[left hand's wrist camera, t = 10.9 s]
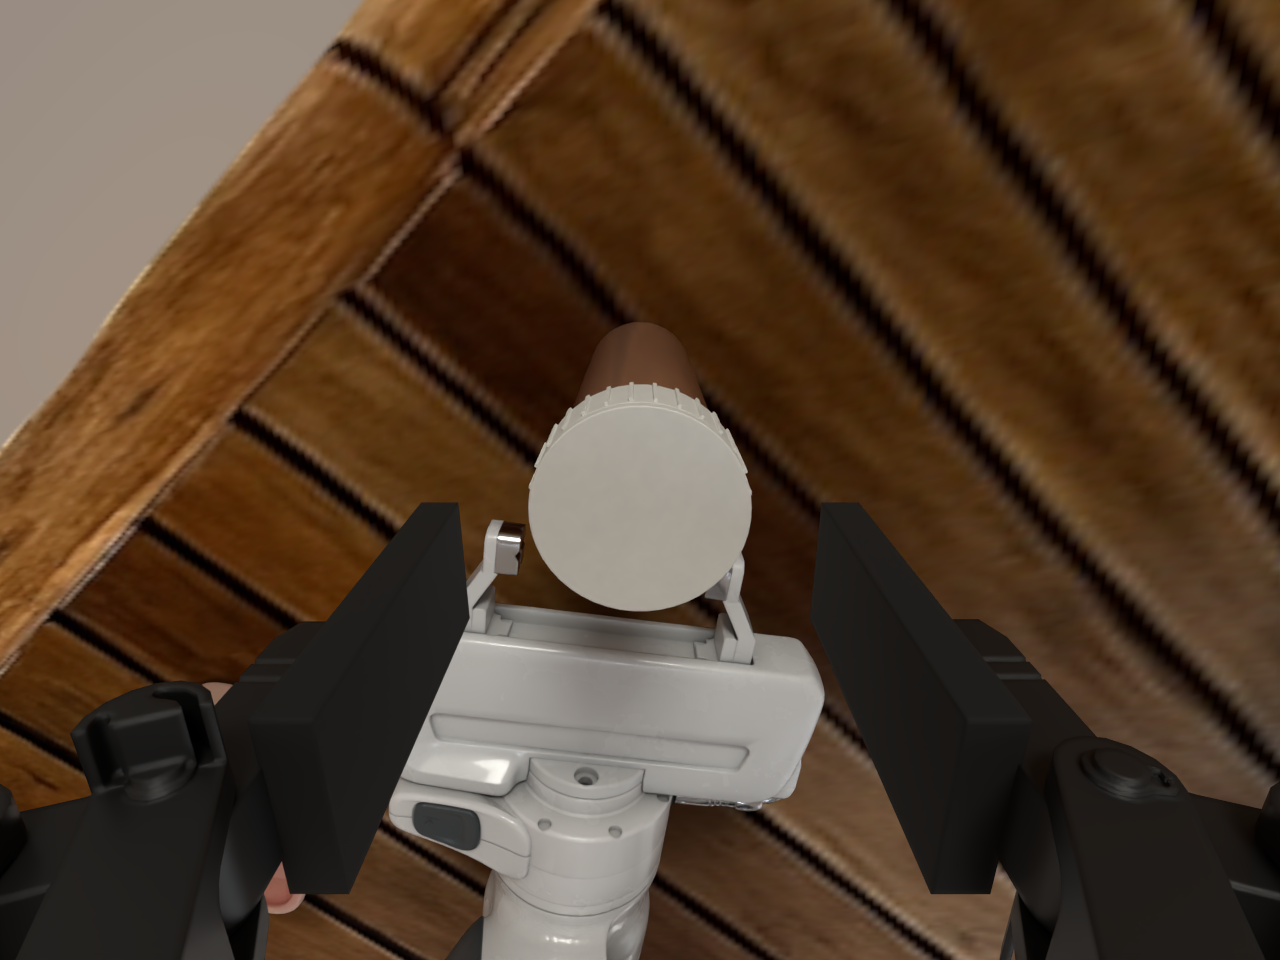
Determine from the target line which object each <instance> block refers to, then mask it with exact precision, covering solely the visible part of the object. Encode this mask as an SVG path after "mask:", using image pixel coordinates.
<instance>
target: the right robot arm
mask: <svg viewBox="0 0 1280 960" xmlns="http://www.w3.org/2000/svg"><path fill="white" fill-rule="evenodd" d="M525 534H526V524H521V523H514V522H507V521H501V520H492V521H491V523H490V525H489V527H488V529H487V532H486V537H485V542H484V558H483V560H482V562H481V563H480V564H479V565H478V567H477V568H476V569H475V570H474V572H473V573H472V574H471V576H470V577H469V578H468V579H467V581H466V585H467V595H468V604H469V614H470V619H469V621H468V623H467V626H466V628H465V630H464V633H463V635H462V637H461V639H460V642H459V644H458V646H457V649H456V651H455V653H454V655H453V658H452V660H451V662H450V665H449V667H448V669H447V671H446V674H445V676H444V678H443V681H442V683H441V685H440V687H439V690H438V692H437V694H436V697H435V699H434V701H433V703H432V706H431V708H430V710H429V712H428V715H427V717H426V719H425V722H424V724H423V726H422V728H421V731H420V733H419V735H418V738H417V740H416V742H415V744H414V747H413V749H412V751H411V754H410V756H409V758H408V760H407V763H406V765H405V767H404V770H403V772H402V774H401V776H400V779H399V781H398V783H397V786H396V788H395V790H394V792H393V795H392V797H391V799H390V803H389V817H390V820H391V822H392V823H393V824H394V825H395V826H396V827H397V828H399V829H401V830H403V831H405V832H407V833H410V834H413V835H416V836H419V837H422V838H424V839H427V840H430V841H433V842H435V843H438V844H441V845H443V846H446V847H448V848H451V849H453V850H456V851H458V852H460V853H463V854H465V855H467V856H469V857H471V858H473V859H475V860H477V861H479V862H481V863H483V864H485V865H486V866H488V867H490V868H492V871H491V873H490V876H489V879H488V882H487V885H486V889H485V896H484V904H483V915H482V916H481V917H480V918H479V919H478V920H477V921H476V922H475V923H473V924H472V925H471V927H470V928H469V929H468V930H467V931H466V932H465V933H464V935H463V936H462V937H461V939H460V940H459V941H458V943H457V944H456V946H455V947H454V948H453V950H452V951H451V952H450V954H449V955H448V956H447V958H446V959H445V960H639V957H640V953H641V949H642V945H643V941H644V937H645V932H646V928H647V923H648V917H649V905H650V902H649V890H648V889H649V887H650V885H651V883H652V881H653V879H654V877H655V875H656V872H657V869H658V866H659V862H660V857H661V852H662V847H663V842H664V837H665V832H666V827H667V822H668V817H669V810H670V805H672V804H673V803H674V804H677V803H678V804H684V805H693V806H726V807H734V809H736V810H741V811H756V810H760V809H761V807H762V804H769V803H773V802H776V801H778V800H781V799H782V798H788V797H789V796H790V795H791V794H792V793H793V791H794V789H795V787H796V783H797V780H798V776H799V773H800V769H801V764H802V756H803V754H804V752H805V750H806V748H807V745H808V743H809V741H810V739H811V736H812V734H813V732H814V729H815V727H816V724H817V721H818V719H819V716H820V713H821V710H822V707H823V703H824V688H823V684H822V680H821V677H820V674H819V671H818V669H817V667H816V665H815V663H814V661H813V659H812V657H811V656H810V654H809V653H808V651H807V650H806V648H805V647H804V645H803V644H802V643H801V642H800V641H799V640H798V639H795V638H790V637H783V636H774V635H765V634H757V633H753V630H752V626H751V623H750V619H749V616H748V613H747V611H746V608H745V606H744V603H743V601H742V598H741V596H740V589H741V584H742V580H743V575H744V559H743V556H742V553H740V555H739V557H738V558H737V560H736V561H735V563H734V564H733V566H732V567H731V569H730V570H729V571H728V572H727V573H726V574H725V575H724V576H723V578H722V579H721V580H720V581H718V582H717V583H716V584H715V585H714V586H713V587H711V588H710V589H709V590H707V591H706V592H704V597H705V598H709V599H716V600H723V603H724V606H725V608H726V610H727V613H720V614H719V616H718V620H717V625H716V629H714V628H706V627H697V626H689V625H680V624H672V623H664V622H655V621H647V620H638V619H630V618H621V617H613V616H604V615H596V614H587V613H579V612H570V611H562V610H553V609H545V608H536V607H528V606H519V605H511V604H502V603H495V590H496V588H495V587H494V586H493V585H490V584H491V582H492V581H493V580H494V578H495V577H496V576H497V575H498V574H509V575H517V574H518V571H519V568H520V564H521V563H522V560H523V557H524V547H525V543H524V541H523V540H524V537H525Z"/></svg>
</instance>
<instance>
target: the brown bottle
mask: <svg viewBox="0 0 1280 960" xmlns="http://www.w3.org/2000/svg"><path fill="white" fill-rule="evenodd" d="M630 382H634V384H647V385H652V384H653V383H657V386H661V387H665V388H669V389H673V390H675V388H677V389H679V391H680V393H683V394H685V395H687V396H689V397H691V398H692V399H694V400H695V398H698V399H699V400H700V403H701V405H703V406H704V407H705V408H707V406H706V403H705V400H704V398H703V395H702V392H701V390H700V387H699V384H698V382H697V379H696V376H695V374H694V371H693V369H692V366H691V363H690V361H689V358H688V355H687V353H686V350H685V349H684V347H683V345H682V344H681V342H680V341H679V340H678V339H677V338H676V337H675V336H674V335H673V334H672V333H671V332H669V331H668V330H666V329H664V328H663V327H660V326H658V325H655V324H651V323H645V322H634V323H628V324H625V325H622V326H620V327H617V328H615V329H614V330H612V331H611V332H609V333H608V334H607V335H606V336H605V337H604V338H603V339H602V340H601V341H600V342H599V344H598V345H597V347H596V349H595V350H594V353H593V355H592V358H591V361H590V363H589V366H588V369H587V371H586V374H585V376H584V379H583V382H582V384H581V387H580V390H579V392H578V395H577V398H576V400H575V403H574V406H573V408H575V407H576V406H577V405H579V404H580V403H581V402H582V401H584V400H585V398H586V396H587V395H590V397H591V396H593V395H595V394H597V393H600V392H602V391H605V390H606V389H607V387H609V386H611V388H615V387H618V386H625V385H629V383H630ZM573 408H572V409H573ZM707 409H708V408H707Z"/></svg>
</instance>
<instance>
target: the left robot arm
mask: <svg viewBox="0 0 1280 960" xmlns="http://www.w3.org/2000/svg"><path fill="white" fill-rule="evenodd" d="M469 619H470V614H469V604H468V595H467V585H466V575H465V565H464V555H463V545H462V535H461V525H460V515H459V505H458V503H421V504H420V505H419V506H418V507H417V509H416V510H415V511H414V512H413V514H412V515H411V516H410V517H409V519H408V520H407V521H406V522H405V524H404V525H403V526H402V527H401V529H400V530H399V531H398V532H397V534H396V535H395V536H394V537H393V539H392V540H391V541H390V542H389V544H388V545H387V546H386V547H385V549H384V550H383V551H382V552H381V554H380V555H379V556H378V557H377V559H376V560H375V561H374V562H373V564H372V565H371V566H370V567H369V569H368V570H367V571H366V572H365V574H364V575H363V576H362V577H361V579H360V580H359V581H358V582H357V584H356V585H355V586H354V587H353V589H352V590H351V591H350V592H349V594H348V595H347V596H346V597H345V599H344V600H343V601H342V602H341V604H340V605H339V606H338V607H337V609H336V610H335V611H334V612H333V614H332V615H331V616H330V617H329V619H328V620H327V621H326V622H300V623H299V624H297V625H296V626H294V627H292V628H291V629H289V630H288V631H286V632H285V633H283V634H281V635H280V636H278V637H277V638H275V639H273V641H272V642H271V643H270V644H269V645H268V646H267V647H266V648H265V650H264V651H263V652H262V653H261V654H260V655H259V656H258V657H257V658H256V660H255V664H251V665H250V666H249V667H248V669H247V670H246V671H245V672H244V673H243V674H242V675H241V676H240V680H239V682H235V683H234V684H233V685H232V686H231V688H230V689H229V690H228V691H227V692H226V693H225V694H224V695H223V696H222V698H221V699H220V700H219V701H218V702H217V703H216V704H215V705H214V702H213V699H212V695H211V691H210V690H208V689H207V688H205V687H204V686H203V685H201V684H200V683H194V682H187V681H173V682H164V683H157V684H153V685H150V686H146V687H143V688H139V689H136V690H132V691H130V692H127V693H125V694H123V695H121V696H119V697H117V698H114V699H112V700H110V701H108V702H106V703H104V704H103V705H101V706H100V707H98V708H97V709H95V710H94V711H93V712H91V713H90V714H88V715H87V716H85V717H84V718H83V719H82V720H81V721H80V723H79V724H78V725H77V726H76V727H75V728H74V730H73V731H72V732H71V733H70V735H71V737H72V740H73V743H74V746H75V748H76V751H77V754H78V757H79V759H80V762H81V765H82V768H83V771H84V773H85V776H86V779H87V782H88V784H89V787H90V790H91V793H92V794H91V796H88V797H85V798H80V799H76V800H71V801H67V802H62V803H58V804H53V805H49V806H45V807H40V808H36V809H31V810H27V811H22V812H19V810H18V807H17V805H16V803H15V800H14V798H13V795H12V793H11V791H10V790H9V789H7V788H6V787H4V786H3V785H1V784H0V960H265V953H266V945H267V936H268V928H269V914H268V907H267V902H266V898H265V895H264V892H265V890H266V888H267V886H268V885H269V883H270V881H271V879H272V878H273V876H274V874H275V872H276V871H277V869H278V867H279V865H280V864H281V862H282V864H283V868H284V873H285V877H286V881H287V885H288V889H289V893H290V894H349V893H350V891H351V888H352V886H353V884H354V882H355V879H356V877H357V875H358V872H359V870H360V868H361V866H362V863H363V861H364V859H365V856H366V854H367V852H368V850H369V847H370V845H371V843H372V840H373V838H374V836H375V834H376V831H377V829H378V827H379V824H380V822H381V820H382V818H383V815H384V813H385V811H386V808H387V806H388V804H389V802H390V799H391V797H392V795H393V792H394V790H395V788H396V786H397V783H398V781H399V779H400V776H401V774H402V772H403V770H404V767H405V765H406V763H407V760H408V758H409V756H410V754H411V751H412V749H413V747H414V744H415V742H416V740H417V738H418V735H419V733H420V731H421V728H422V726H423V724H424V722H425V719H426V717H427V715H428V712H429V710H430V708H431V706H432V703H433V701H434V699H435V697H436V694H437V692H438V690H439V687H440V685H441V683H442V681H443V678H444V676H445V674H446V671H447V669H448V667H449V665H450V662H451V660H452V658H453V655H454V653H455V651H456V649H457V646H458V644H459V642H460V639H461V637H462V635H463V633H464V630H465V628H466V626H467V623H468V621H469ZM810 619H811V621H812V623H813V626H814V628H815V630H816V633H817V635H818V637H819V639H820V642H821V644H822V646H823V649H824V651H825V653H826V655H827V658H828V660H829V662H830V665H831V667H832V669H833V671H834V674H835V676H836V678H837V681H838V683H839V685H840V687H841V690H842V692H843V694H844V697H845V699H846V701H847V703H848V706H849V708H850V710H851V712H852V715H853V717H854V719H855V722H856V724H857V726H858V728H859V731H860V733H861V735H862V738H863V740H864V742H865V744H866V747H867V749H868V751H869V754H870V756H871V758H872V760H873V763H874V765H875V767H876V770H877V772H878V774H879V776H880V779H881V781H882V783H883V786H884V788H885V790H886V792H887V795H888V797H889V799H890V802H891V804H892V806H893V808H894V811H895V813H896V815H897V818H898V820H899V822H900V824H901V827H902V829H903V831H904V834H905V836H906V838H907V840H908V843H909V845H910V847H911V850H912V852H913V854H914V856H915V859H916V861H917V863H918V866H919V868H920V870H921V872H922V875H923V877H924V879H925V882H926V884H927V886H928V888H929V891H930V893H931V894H990V893H991V889H992V885H993V881H994V877H995V873H996V868H997V864H998V860H1000V862H1001V864H1002V865H1003V867H1004V869H1005V871H1006V872H1007V874H1008V876H1009V878H1010V879H1011V881H1012V883H1013V885H1014V886H1015V888H1016V890H1017V891H1016V895H1015V898H1014V902H1013V906H1012V910H1011V913H1010V917H1009V921H1008V925H1007V928H1006V932H1005V936H1004V940H1003V944H1002V948H1001V954H1000V960H1011V958H1012V954H1013V950H1014V951H1015V960H1280V782H1279V783H1277V784H1275V785H1274V786H1272V787H1271V788H1270V791H1269V793H1268V795H1267V798H1266V800H1265V803H1264V805H1263V807H1262V809H1258V808H1254V807H1249V806H1245V805H1240V804H1236V803H1231V802H1227V801H1222V800H1218V799H1213V798H1209V797H1204V796H1200V795H1196V794H1192V793H1189V792H1188V791H1187V790H1186V788H1185V787H1184V786H1183V784H1182V783H1181V782H1180V780H1179V779H1178V778H1177V776H1176V775H1175V774H1174V773H1172V772H1171V771H1170V770H1169V769H1167V768H1166V767H1165V766H1164V765H1162V764H1161V763H1160V762H1158V761H1157V760H1156V759H1154V758H1152V757H1150V756H1148V755H1147V754H1145V753H1143V752H1141V751H1139V750H1137V749H1135V748H1133V747H1131V746H1128V745H1125V744H1122V743H1119V742H1116V741H1113V740H1110V739H1107V738H1100V737H1096V736H1095V734H1094V733H1093V732H1092V731H1091V730H1090V729H1089V728H1088V727H1087V726H1086V724H1085V723H1084V722H1083V721H1082V720H1081V719H1080V718H1079V717H1078V716H1077V714H1076V713H1075V712H1074V711H1073V710H1072V709H1071V708H1070V707H1069V706H1068V704H1067V703H1066V702H1065V701H1064V700H1063V699H1062V698H1061V697H1060V696H1059V694H1058V693H1057V692H1056V691H1055V690H1054V689H1053V688H1052V687H1051V686H1050V684H1049V683H1048V682H1047V681H1046V680H1042V679H1041V674H1040V673H1039V672H1038V671H1037V670H1036V669H1035V668H1034V667H1033V666H1032V664H1031V663H1030V662H1026V660H1025V657H1024V656H1023V654H1022V653H1021V652H1020V651H1019V650H1018V649H1017V648H1016V647H1015V646H1014V644H1013V643H1012V642H1011V641H1010V640H1009V639H1008V638H1007V637H1006V636H1004V635H1003V634H1001V633H1000V632H998V631H996V630H995V629H993V628H991V627H990V626H988V625H987V624H985V623H983V622H982V621H980V620H979V619H951V617H950V616H949V615H948V614H947V612H946V611H945V610H944V609H943V607H942V606H941V605H940V604H939V602H938V601H937V600H936V599H935V597H934V596H933V595H932V594H931V592H930V591H929V590H928V589H927V587H926V586H925V585H924V584H923V582H922V581H921V580H920V579H919V577H918V576H917V575H916V574H915V572H914V571H913V570H912V569H911V567H910V566H909V565H908V564H907V562H906V561H905V560H904V559H903V557H902V556H901V555H900V554H899V552H898V551H897V550H896V549H895V547H894V546H893V545H892V544H891V542H890V541H889V540H888V539H887V537H886V536H885V535H884V534H883V532H882V531H881V530H880V529H879V527H878V526H877V525H876V524H875V522H874V521H873V520H872V519H871V517H870V516H869V515H868V514H867V512H866V511H865V510H864V509H863V507H862V506H861V505H860V504H859V503H822V505H821V515H820V525H819V535H818V545H817V555H816V565H815V575H814V585H813V595H812V604H811V614H810Z"/></svg>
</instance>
